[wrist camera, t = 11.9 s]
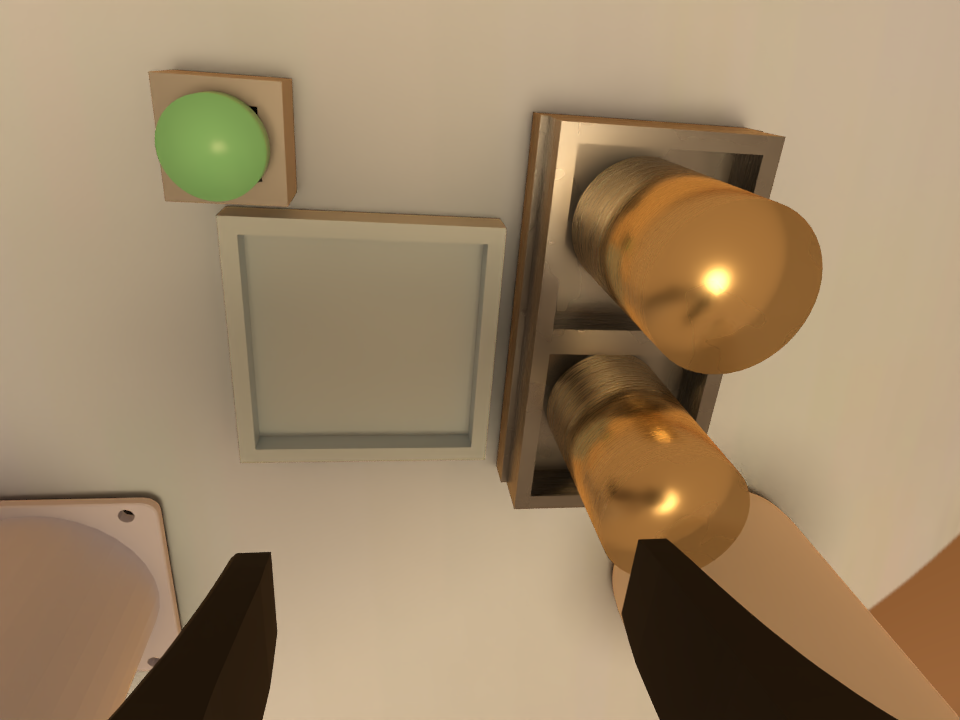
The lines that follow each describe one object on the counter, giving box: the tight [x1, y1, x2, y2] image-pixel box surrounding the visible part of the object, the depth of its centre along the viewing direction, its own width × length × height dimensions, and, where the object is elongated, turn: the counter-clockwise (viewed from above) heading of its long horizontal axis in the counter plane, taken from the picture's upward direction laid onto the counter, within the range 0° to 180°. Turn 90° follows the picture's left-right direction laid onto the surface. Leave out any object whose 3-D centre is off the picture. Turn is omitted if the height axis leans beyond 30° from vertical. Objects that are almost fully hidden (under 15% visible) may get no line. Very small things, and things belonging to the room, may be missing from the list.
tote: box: [216, 206, 507, 463], centre depth 20 cm, size 8×8×1 cm
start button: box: [155, 91, 270, 202], centre depth 16 cm, size 2×2×3 cm
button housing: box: [148, 70, 297, 207], centre depth 17 cm, size 3×3×2 cm
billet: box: [572, 156, 822, 374], centre depth 17 cm, size 4×4×6 cm
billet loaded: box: [547, 355, 750, 574], centre depth 19 cm, size 4×4×6 cm
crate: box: [496, 112, 785, 509], centre depth 20 cm, size 7×12×2 cm, turn 176°
